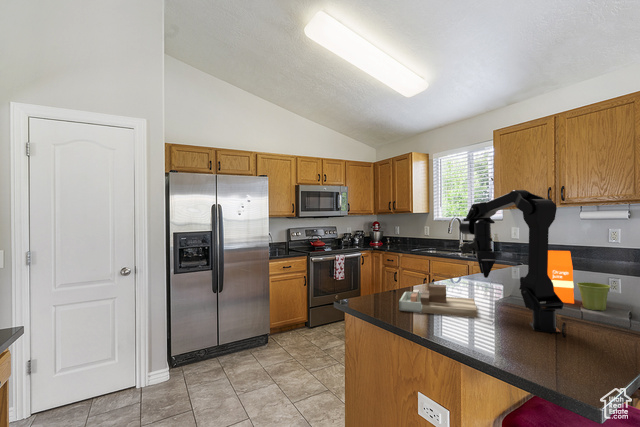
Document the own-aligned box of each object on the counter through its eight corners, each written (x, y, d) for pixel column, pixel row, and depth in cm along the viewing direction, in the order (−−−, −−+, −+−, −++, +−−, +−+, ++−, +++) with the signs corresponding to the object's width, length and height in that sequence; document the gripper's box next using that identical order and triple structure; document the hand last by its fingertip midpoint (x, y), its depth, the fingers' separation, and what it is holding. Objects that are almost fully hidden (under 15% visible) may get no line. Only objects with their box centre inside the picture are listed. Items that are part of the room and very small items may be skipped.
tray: (421, 312, 112) (421, 302, 112) (399, 310, 115) (399, 301, 115) (424, 301, 127) (424, 292, 127) (405, 299, 130) (405, 291, 130)
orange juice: (574, 303, 119) (572, 252, 119) (546, 300, 123) (544, 251, 124) (570, 298, 125) (568, 250, 126) (544, 296, 130) (542, 249, 130)
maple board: (477, 317, 105) (476, 310, 105) (422, 312, 112) (422, 305, 112) (474, 305, 119) (473, 298, 120) (425, 301, 127) (425, 295, 127)
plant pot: (571, 307, 114) (571, 283, 114) (585, 303, 118) (584, 281, 118) (603, 313, 106) (602, 288, 106) (617, 309, 110) (615, 285, 110)
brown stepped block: (446, 306, 110) (445, 289, 110) (420, 304, 114) (420, 288, 114) (446, 297, 122) (446, 282, 122) (423, 296, 126) (423, 281, 126)
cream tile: (418, 292, 122) (412, 291, 122) (418, 303, 121) (413, 303, 122) (419, 289, 126) (414, 289, 126) (419, 300, 126) (414, 300, 126)
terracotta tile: (415, 296, 115) (410, 296, 116) (416, 308, 115) (410, 308, 116) (417, 293, 119) (411, 293, 120) (417, 305, 119) (412, 305, 120)
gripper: (458, 234, 130) (459, 270, 130) (461, 236, 113) (463, 279, 112) (487, 234, 126) (489, 271, 126) (495, 236, 109) (497, 280, 108)
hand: (484, 275), depth 118 cm, fingers open, 9 cm apart
